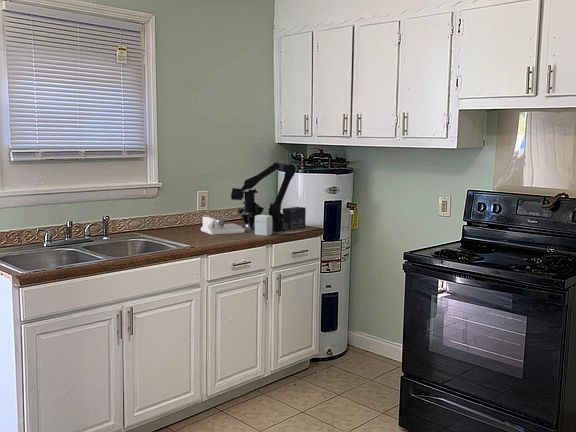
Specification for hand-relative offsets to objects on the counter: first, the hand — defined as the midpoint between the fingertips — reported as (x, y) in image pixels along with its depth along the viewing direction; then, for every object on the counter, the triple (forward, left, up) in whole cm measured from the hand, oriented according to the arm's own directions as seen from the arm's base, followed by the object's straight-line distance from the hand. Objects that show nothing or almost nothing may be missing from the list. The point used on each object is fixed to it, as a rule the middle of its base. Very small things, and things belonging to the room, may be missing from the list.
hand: (249, 227), depth 346 cm
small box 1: (-19, +1, -1) cm, 19 cm away
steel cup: (0, 0, -1) cm, 1 cm away
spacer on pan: (+3, +17, +2) cm, 18 cm away
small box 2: (-5, -27, -1) cm, 27 cm away
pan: (-1, +14, +1) cm, 14 cm away
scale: (-1, +18, -1) cm, 18 cm away
